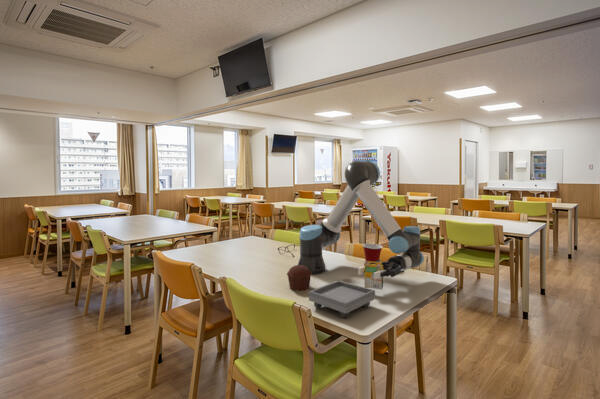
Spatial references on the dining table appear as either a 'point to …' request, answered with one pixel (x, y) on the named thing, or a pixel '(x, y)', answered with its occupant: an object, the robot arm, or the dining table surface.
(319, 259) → the robot arm
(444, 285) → the dining table surface
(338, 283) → the grey footed tray
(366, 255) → the plastic cup
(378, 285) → the crayon box
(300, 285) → the muffin
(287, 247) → the eyeglasses
